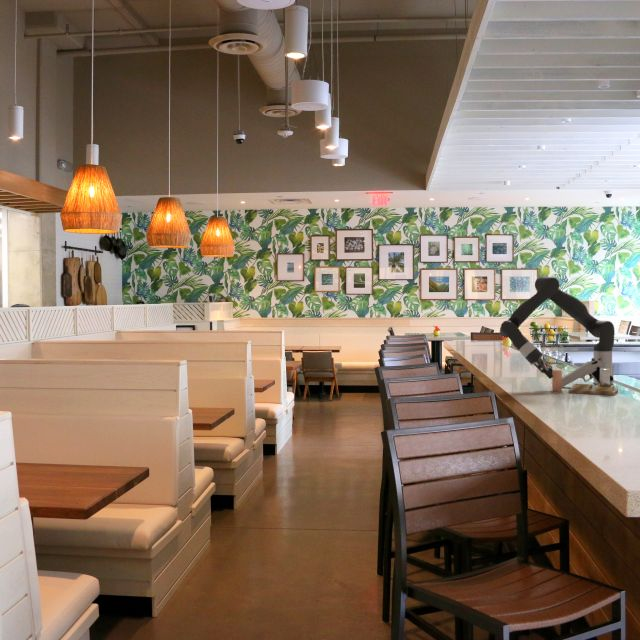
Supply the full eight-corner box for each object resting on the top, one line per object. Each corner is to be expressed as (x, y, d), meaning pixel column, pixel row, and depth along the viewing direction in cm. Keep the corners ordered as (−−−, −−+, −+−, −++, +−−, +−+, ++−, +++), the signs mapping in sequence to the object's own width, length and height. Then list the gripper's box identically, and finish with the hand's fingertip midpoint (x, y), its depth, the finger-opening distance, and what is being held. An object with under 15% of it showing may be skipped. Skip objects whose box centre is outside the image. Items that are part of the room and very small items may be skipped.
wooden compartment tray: (568, 393, 350) (568, 385, 349) (574, 390, 361) (574, 383, 361) (613, 395, 339) (613, 388, 339) (618, 392, 350) (618, 385, 350)
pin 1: (557, 390, 362) (557, 369, 361) (563, 391, 357) (563, 370, 357) (550, 390, 360) (550, 370, 360) (556, 391, 356) (556, 370, 355)
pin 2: (604, 389, 350) (604, 368, 350) (611, 390, 346) (611, 369, 346) (597, 390, 349) (597, 368, 348) (604, 391, 344) (604, 369, 344)
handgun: (618, 379, 369) (603, 353, 369) (569, 406, 372) (554, 380, 372) (616, 378, 373) (601, 352, 373) (567, 405, 376) (552, 379, 376)
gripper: (532, 348, 357) (556, 373, 352) (539, 346, 370) (563, 370, 364) (521, 358, 360) (544, 383, 355) (529, 356, 372) (552, 380, 367)
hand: (554, 376), depth 359 cm, fingers open, 8 cm apart
